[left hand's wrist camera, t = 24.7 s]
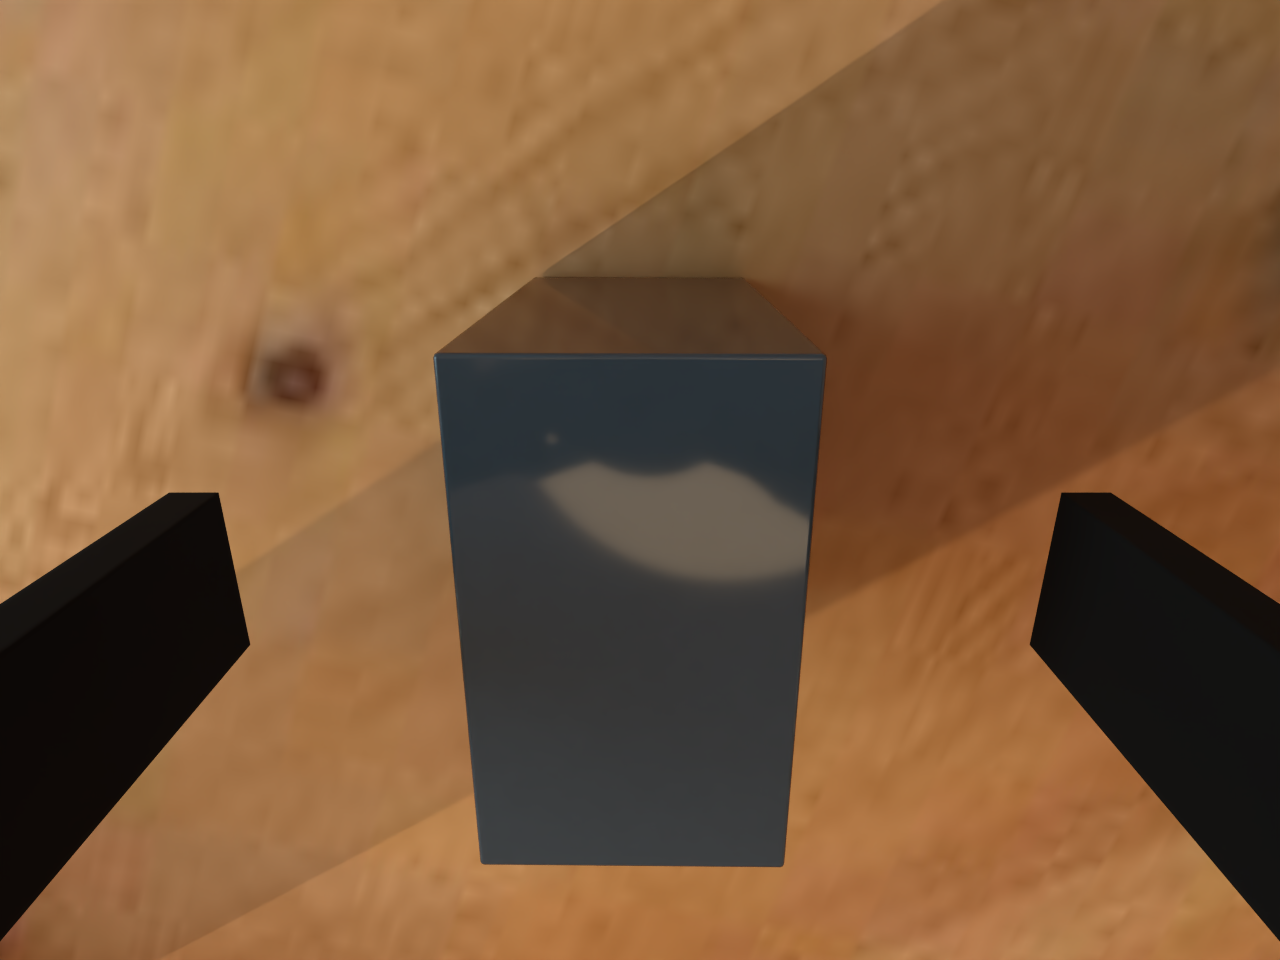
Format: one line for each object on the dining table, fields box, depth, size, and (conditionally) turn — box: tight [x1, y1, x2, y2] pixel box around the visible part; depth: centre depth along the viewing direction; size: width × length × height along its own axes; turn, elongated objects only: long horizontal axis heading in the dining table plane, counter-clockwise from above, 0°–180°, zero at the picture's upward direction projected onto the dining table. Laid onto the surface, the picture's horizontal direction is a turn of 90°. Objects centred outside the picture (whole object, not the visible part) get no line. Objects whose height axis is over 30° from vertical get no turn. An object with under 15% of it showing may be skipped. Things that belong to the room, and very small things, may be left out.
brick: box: [433, 277, 827, 867], centre depth 15 cm, size 5×8×9 cm, turn 0°
